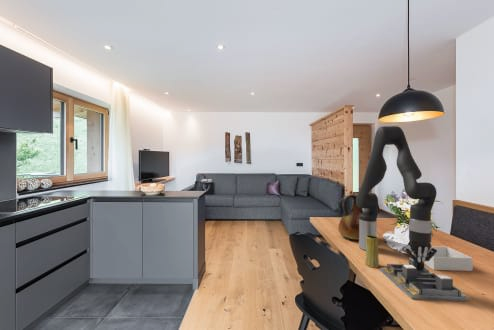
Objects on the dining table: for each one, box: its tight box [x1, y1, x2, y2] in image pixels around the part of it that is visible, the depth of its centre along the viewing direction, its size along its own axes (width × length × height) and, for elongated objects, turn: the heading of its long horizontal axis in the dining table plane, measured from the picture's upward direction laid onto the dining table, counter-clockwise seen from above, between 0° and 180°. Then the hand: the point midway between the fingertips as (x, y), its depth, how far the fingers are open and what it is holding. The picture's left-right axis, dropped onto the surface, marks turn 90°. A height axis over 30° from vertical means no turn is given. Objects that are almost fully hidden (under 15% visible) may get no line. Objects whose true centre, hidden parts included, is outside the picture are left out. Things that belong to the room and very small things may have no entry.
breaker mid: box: [402, 265, 417, 278], centre depth 95 cm, size 3×4×6 cm
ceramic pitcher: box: [338, 193, 364, 241], centre depth 153 cm, size 20×20×30 cm
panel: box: [380, 263, 468, 302], centre depth 95 cm, size 22×20×4 cm
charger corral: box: [412, 245, 474, 272], centre depth 114 cm, size 15×18×6 cm
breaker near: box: [436, 274, 454, 290], centre depth 87 cm, size 3×4×6 cm
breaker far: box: [408, 257, 415, 267], centre depth 103 cm, size 3×4×6 cm
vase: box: [364, 235, 380, 269], centre depth 113 cm, size 6×6×14 cm
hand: (419, 269), depth 95 cm, fingers closed
